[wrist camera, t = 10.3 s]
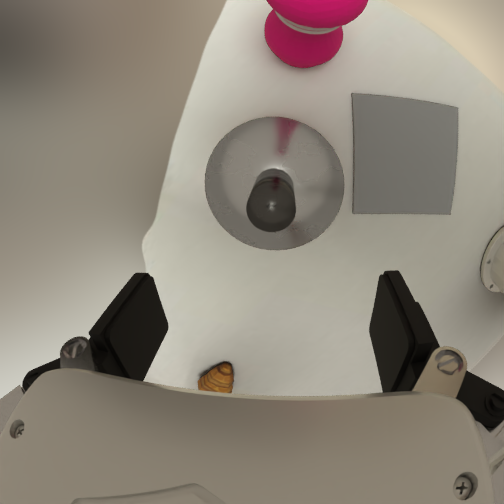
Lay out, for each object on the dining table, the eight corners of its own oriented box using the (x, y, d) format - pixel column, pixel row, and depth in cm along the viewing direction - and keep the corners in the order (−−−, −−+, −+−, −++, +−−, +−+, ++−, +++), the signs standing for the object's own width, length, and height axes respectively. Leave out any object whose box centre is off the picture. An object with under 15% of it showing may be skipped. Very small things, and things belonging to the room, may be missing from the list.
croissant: (210, 353, 47) (204, 374, 43) (246, 365, 48) (242, 388, 43) (192, 387, 53) (186, 406, 49) (222, 398, 54) (218, 417, 50)
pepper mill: (276, 77, 26) (262, 23, 8) (259, 21, 23) (222, -81, 5) (341, 67, 24) (424, 15, 7) (324, 11, 21) (369, -90, 4)
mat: (456, 107, 24) (458, 107, 23) (449, 213, 30) (450, 214, 30) (351, 93, 26) (352, 93, 25) (352, 212, 32) (353, 213, 32)
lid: (340, 115, 23) (360, 117, 16) (339, 243, 29) (353, 282, 22) (200, 123, 24) (171, 129, 18) (217, 246, 31) (199, 284, 24)
